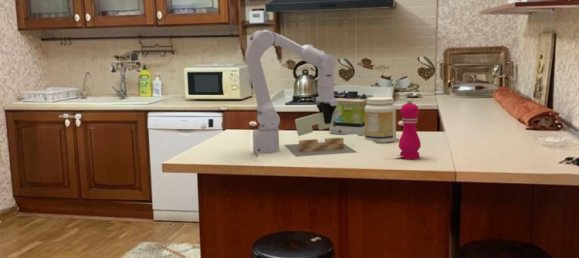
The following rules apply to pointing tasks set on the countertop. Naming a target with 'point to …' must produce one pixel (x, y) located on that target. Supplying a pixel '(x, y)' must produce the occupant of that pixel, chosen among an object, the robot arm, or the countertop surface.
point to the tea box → (349, 116)
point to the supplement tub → (380, 120)
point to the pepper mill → (409, 132)
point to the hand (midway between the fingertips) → (326, 123)
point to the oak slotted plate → (314, 146)
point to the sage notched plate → (311, 123)
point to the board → (295, 150)
